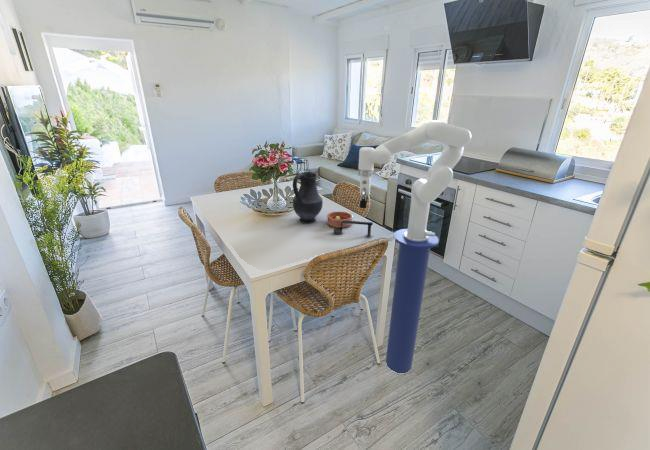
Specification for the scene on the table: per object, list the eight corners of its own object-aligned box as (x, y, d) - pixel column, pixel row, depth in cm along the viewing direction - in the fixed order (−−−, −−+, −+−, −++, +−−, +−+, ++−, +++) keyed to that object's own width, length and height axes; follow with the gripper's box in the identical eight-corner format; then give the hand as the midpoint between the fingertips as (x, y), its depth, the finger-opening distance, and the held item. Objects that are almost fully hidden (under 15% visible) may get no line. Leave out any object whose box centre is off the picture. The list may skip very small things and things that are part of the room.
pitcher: (327, 219, 191) (328, 170, 179) (307, 230, 175) (306, 178, 163) (304, 213, 200) (304, 166, 188) (283, 223, 184) (281, 173, 172)
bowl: (352, 220, 191) (353, 212, 189) (350, 229, 177) (350, 221, 176) (329, 218, 193) (329, 210, 191) (325, 227, 180) (325, 219, 178)
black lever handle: (371, 234, 171) (372, 221, 169) (371, 237, 167) (372, 224, 164) (334, 231, 175) (334, 218, 172) (332, 234, 171) (333, 221, 168)
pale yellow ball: (340, 220, 189) (340, 215, 188) (339, 222, 186) (339, 217, 185) (335, 219, 189) (335, 215, 188) (334, 221, 186) (334, 216, 185)
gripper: (372, 176, 149) (370, 210, 155) (373, 169, 165) (371, 200, 171) (356, 175, 150) (354, 209, 157) (359, 168, 166) (357, 199, 172)
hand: (363, 204), depth 164 cm, fingers open, 9 cm apart
